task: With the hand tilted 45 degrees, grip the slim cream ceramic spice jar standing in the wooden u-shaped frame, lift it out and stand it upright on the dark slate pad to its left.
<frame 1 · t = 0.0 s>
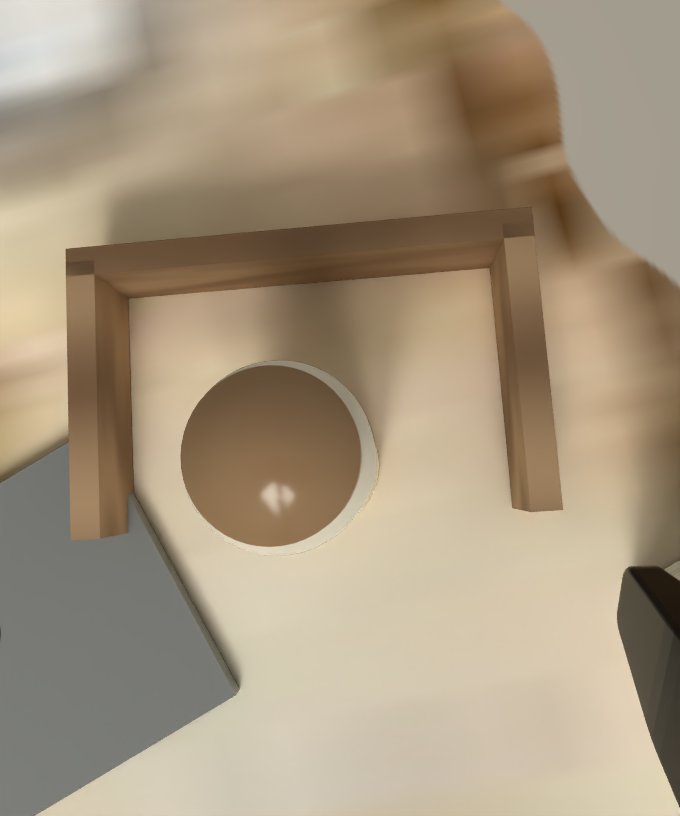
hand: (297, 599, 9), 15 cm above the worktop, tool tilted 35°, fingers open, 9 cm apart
pad: (40, 631, 24), on the worktop
wooden u-shaped frame: (316, 465, 24), on the worktop
jar: (299, 461, 19), in the wooden u-shaped frame
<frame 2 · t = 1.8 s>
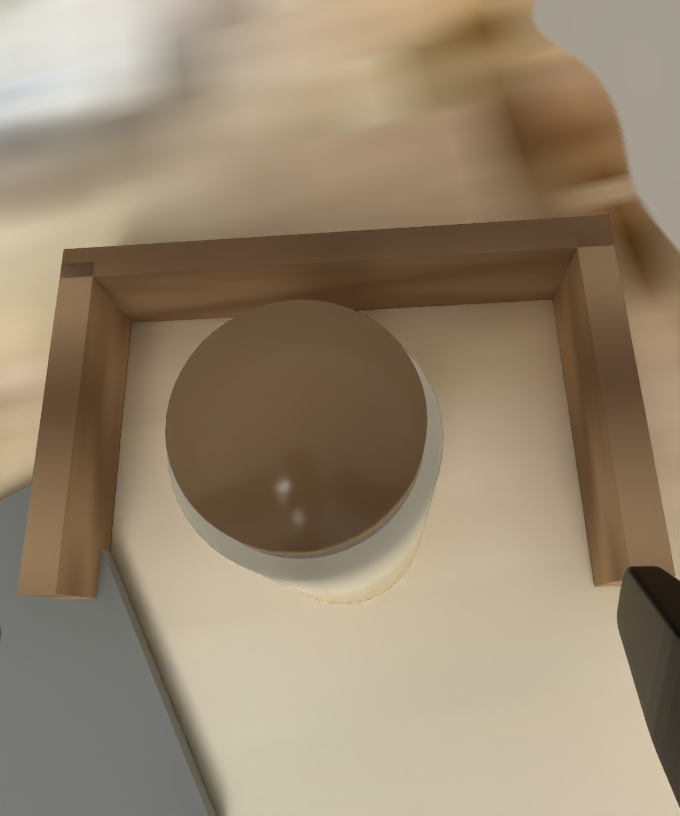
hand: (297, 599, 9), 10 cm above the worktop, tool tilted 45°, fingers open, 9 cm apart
wooden u-shaped frame: (342, 522, 19), on the worktop
jar: (326, 487, 15), in the wooden u-shaped frame
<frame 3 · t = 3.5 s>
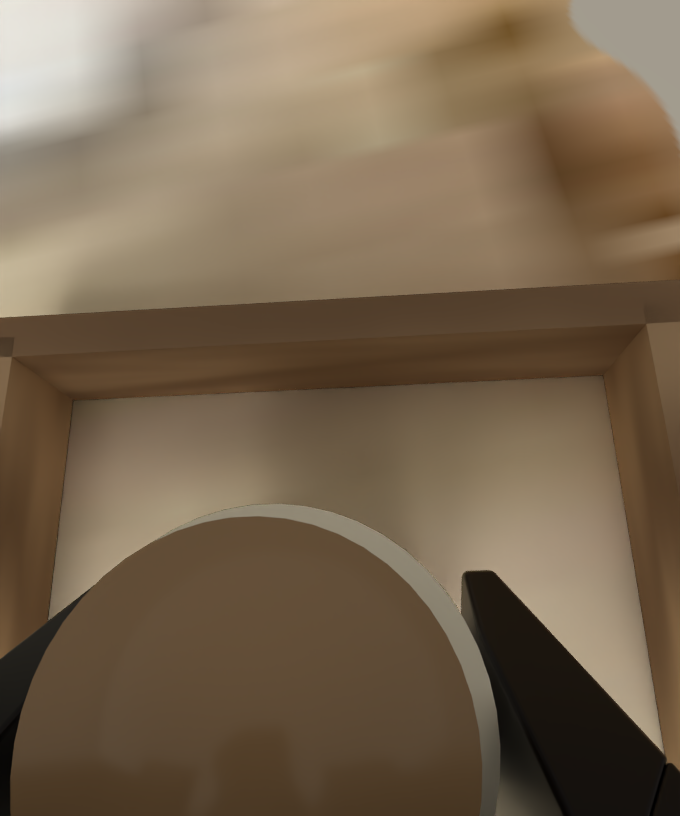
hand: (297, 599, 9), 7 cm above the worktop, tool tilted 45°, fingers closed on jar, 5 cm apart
wooden u-shaped frame: (336, 674, 15), on the worktop
jar: (310, 695, 10), in the wooden u-shaped frame, touching gripper
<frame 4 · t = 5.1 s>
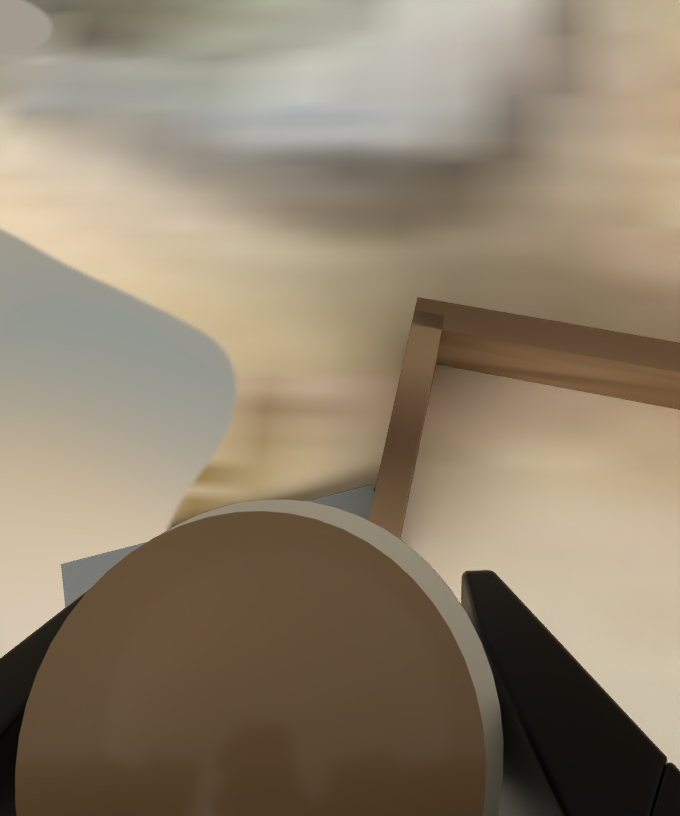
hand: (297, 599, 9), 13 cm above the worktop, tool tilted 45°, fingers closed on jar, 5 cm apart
pad: (251, 692, 21), on the worktop
wooden u-shaped frame: (608, 600, 21), on the worktop
jar: (313, 692, 10), point 12 cm above the worktop, touching gripper
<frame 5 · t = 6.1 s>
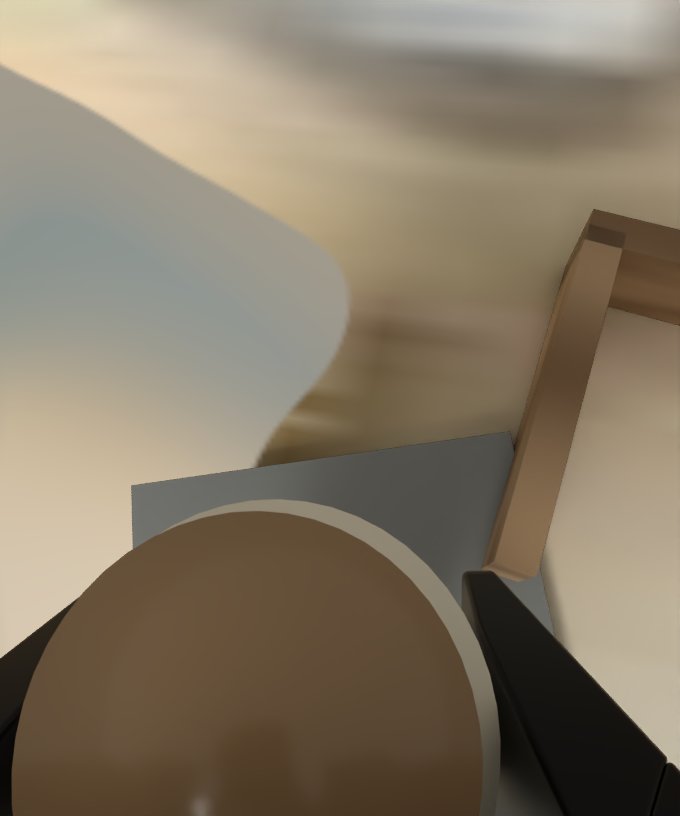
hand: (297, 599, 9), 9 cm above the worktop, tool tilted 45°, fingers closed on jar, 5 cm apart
pad: (344, 661, 18), on the worktop
jar: (310, 692, 10), point 8 cm above the worktop, touching gripper
when the fingers open (8 cm above the worktop, at t = 6.6 s): jar drops 1 cm, resting on pad.
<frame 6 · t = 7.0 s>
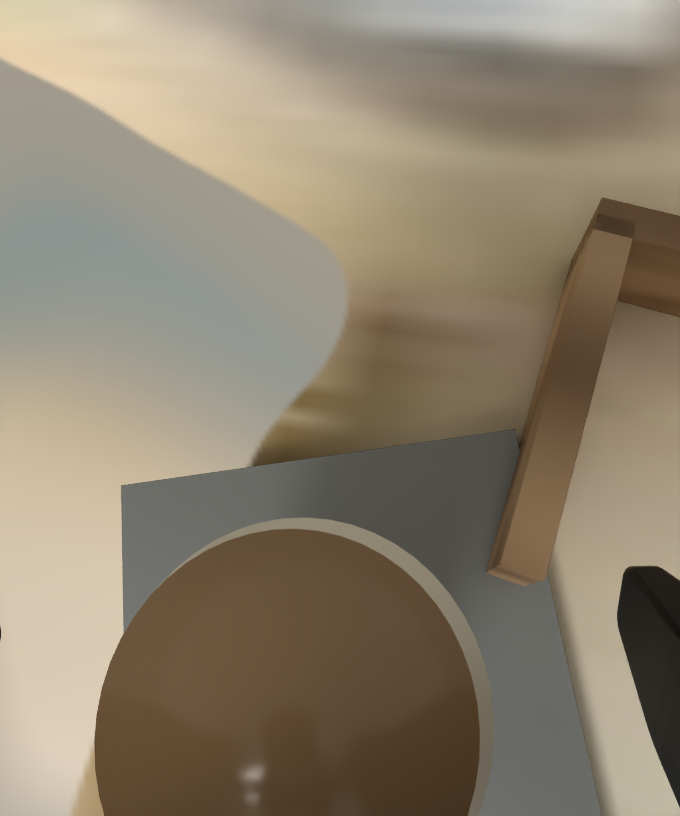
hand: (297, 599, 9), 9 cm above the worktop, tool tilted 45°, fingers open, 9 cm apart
pad: (343, 668, 17), on the worktop
jar: (324, 687, 11), on the pad, point 6 cm above the worktop
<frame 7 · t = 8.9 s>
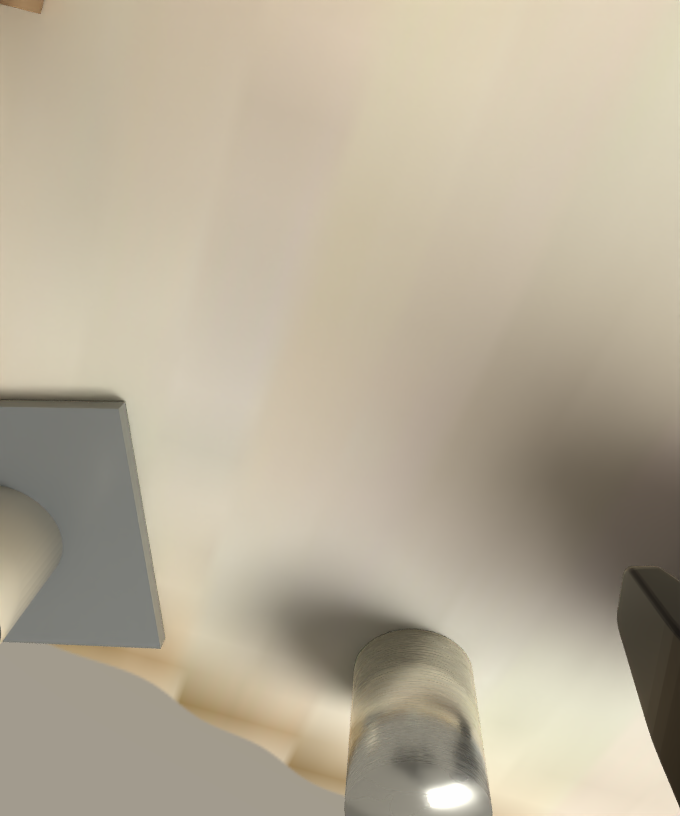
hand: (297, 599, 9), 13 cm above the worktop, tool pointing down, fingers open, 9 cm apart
tin: (412, 674, 28), on the worktop
pad: (11, 526, 26), on the worktop
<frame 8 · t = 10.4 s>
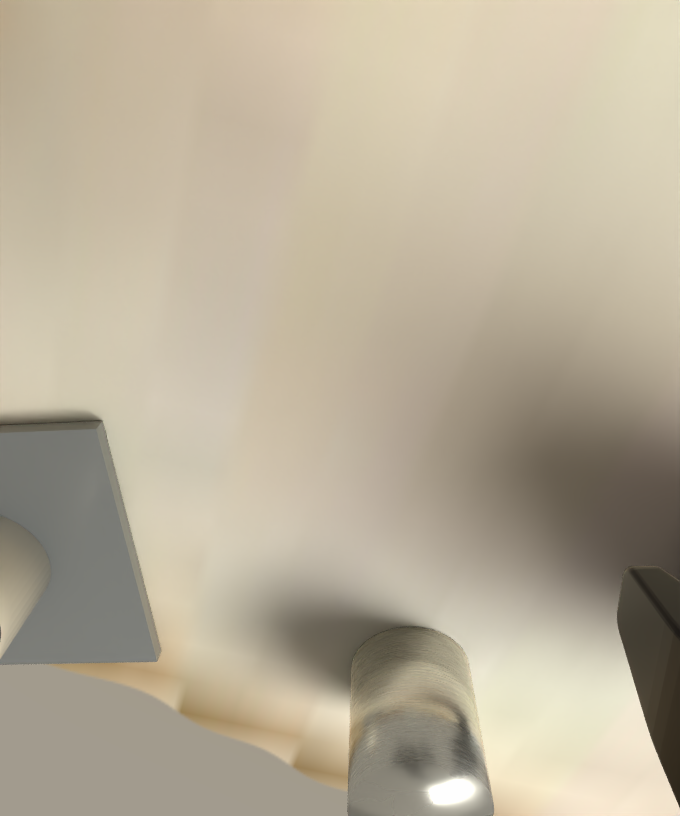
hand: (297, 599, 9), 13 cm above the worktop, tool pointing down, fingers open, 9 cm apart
tin: (410, 670, 28), on the worktop
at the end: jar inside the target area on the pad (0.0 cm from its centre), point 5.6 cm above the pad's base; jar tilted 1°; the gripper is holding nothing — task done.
